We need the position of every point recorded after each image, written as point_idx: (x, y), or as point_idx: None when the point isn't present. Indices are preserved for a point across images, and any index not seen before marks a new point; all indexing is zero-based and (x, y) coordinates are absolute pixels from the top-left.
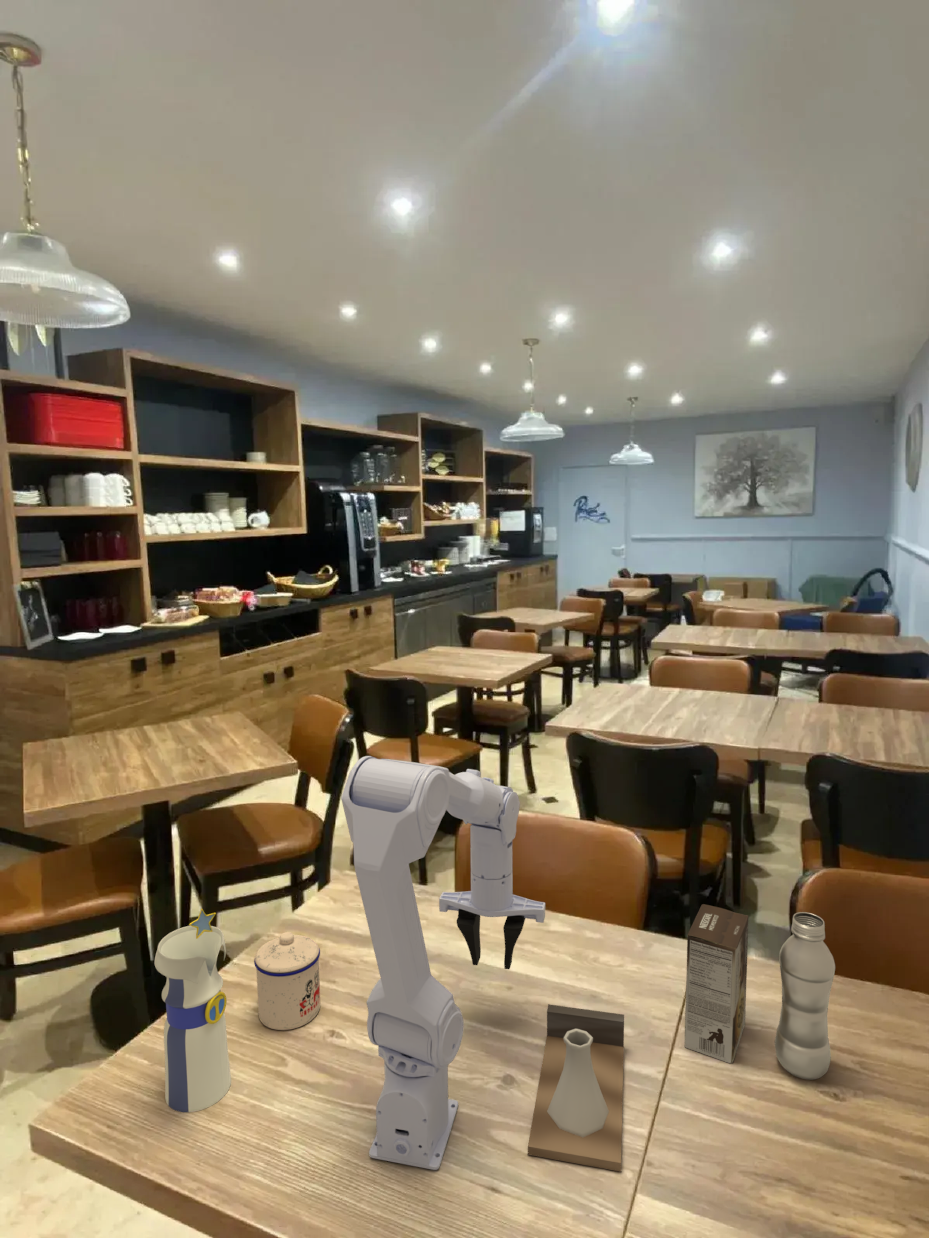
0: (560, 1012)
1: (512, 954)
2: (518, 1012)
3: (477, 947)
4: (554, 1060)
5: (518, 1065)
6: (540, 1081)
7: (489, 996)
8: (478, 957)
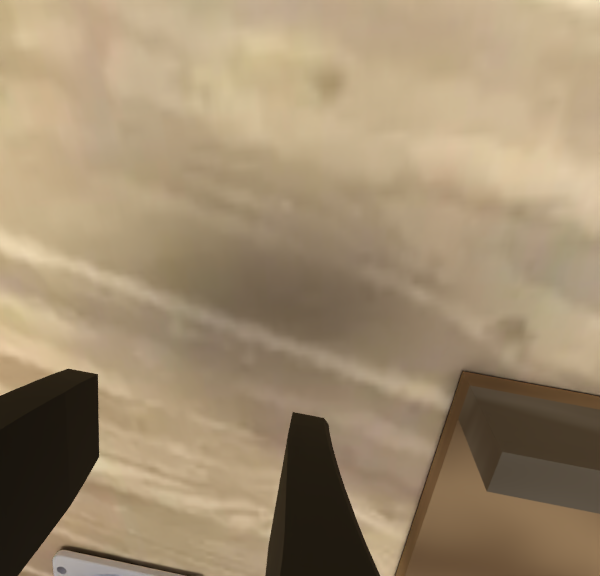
0: (547, 498)
1: (332, 449)
2: (363, 251)
3: (14, 523)
4: (464, 513)
5: (352, 478)
6: (410, 572)
7: (243, 154)
8: (79, 448)
